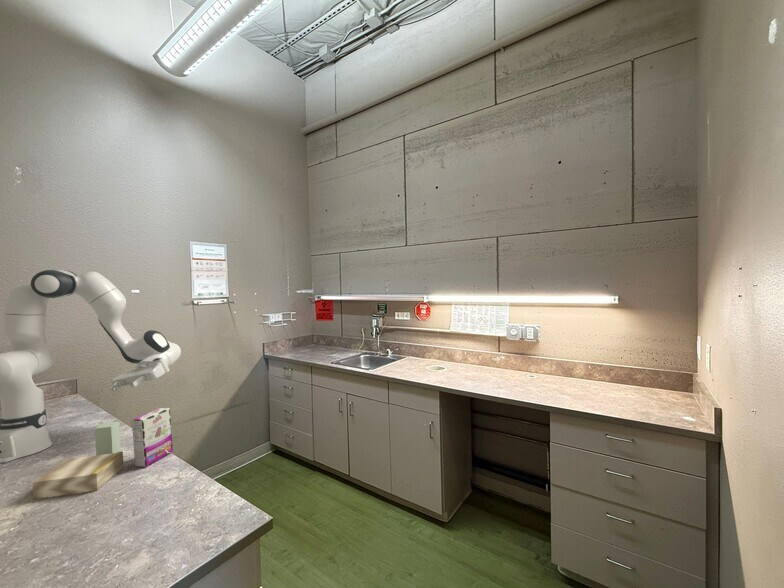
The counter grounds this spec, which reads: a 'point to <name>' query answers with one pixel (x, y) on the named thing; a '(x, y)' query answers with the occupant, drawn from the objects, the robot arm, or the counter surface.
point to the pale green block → (107, 438)
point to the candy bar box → (152, 436)
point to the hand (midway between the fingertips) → (122, 387)
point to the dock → (78, 475)
